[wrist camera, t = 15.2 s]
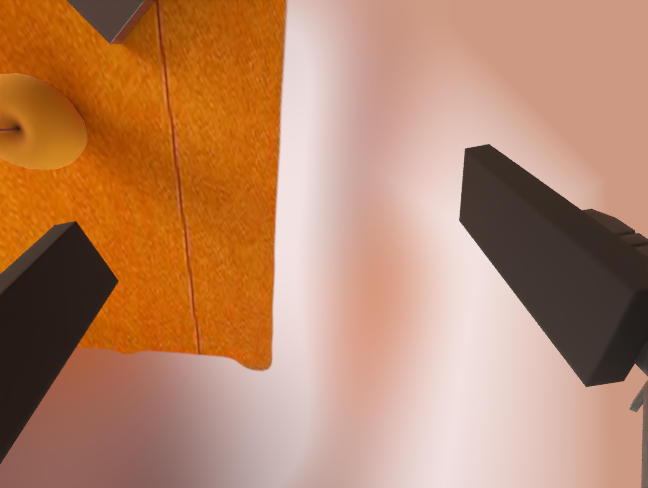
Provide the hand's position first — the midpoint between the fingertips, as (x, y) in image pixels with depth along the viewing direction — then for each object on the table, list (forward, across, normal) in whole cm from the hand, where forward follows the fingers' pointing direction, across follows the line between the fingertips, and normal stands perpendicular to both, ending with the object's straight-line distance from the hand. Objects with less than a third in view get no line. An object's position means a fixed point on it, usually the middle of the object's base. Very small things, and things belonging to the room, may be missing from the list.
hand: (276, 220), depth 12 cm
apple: (+30, -25, 0) cm, 40 cm away
